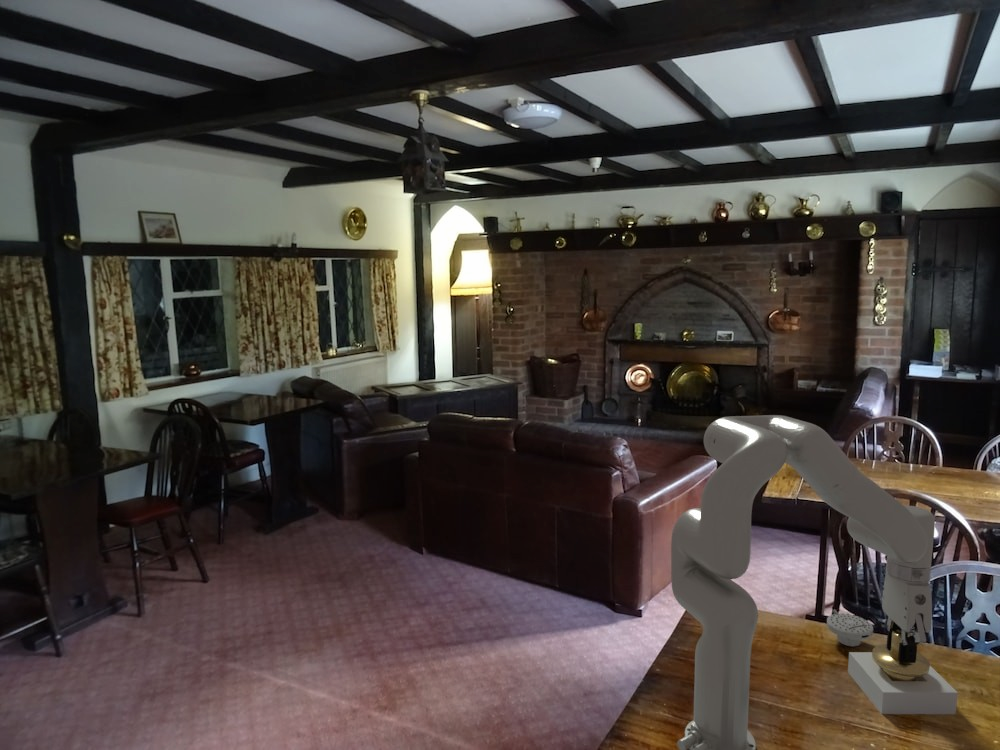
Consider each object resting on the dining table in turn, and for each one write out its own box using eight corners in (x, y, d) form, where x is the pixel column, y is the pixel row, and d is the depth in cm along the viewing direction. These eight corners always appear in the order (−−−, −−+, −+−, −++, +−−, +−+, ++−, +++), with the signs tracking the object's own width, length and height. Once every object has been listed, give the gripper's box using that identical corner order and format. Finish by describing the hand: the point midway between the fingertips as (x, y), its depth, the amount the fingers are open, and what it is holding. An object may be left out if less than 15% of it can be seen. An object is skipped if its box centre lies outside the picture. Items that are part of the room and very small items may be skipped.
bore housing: (881, 720, 134) (883, 692, 133) (847, 678, 147) (849, 652, 146) (955, 721, 133) (957, 692, 132) (914, 678, 147) (916, 652, 146)
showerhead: (849, 605, 164) (883, 626, 154) (848, 634, 165) (881, 656, 155) (816, 611, 161) (848, 632, 152) (814, 640, 162) (846, 663, 153)
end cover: (886, 697, 135) (890, 647, 133) (861, 668, 145) (864, 621, 143) (938, 698, 134) (943, 648, 133) (909, 669, 144) (913, 622, 143)
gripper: (953, 588, 128) (944, 680, 130) (904, 552, 144) (897, 634, 147) (912, 588, 128) (904, 680, 131) (867, 552, 144) (861, 634, 147)
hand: (900, 655), depth 139 cm, fingers closed on end cover, 3 cm apart
